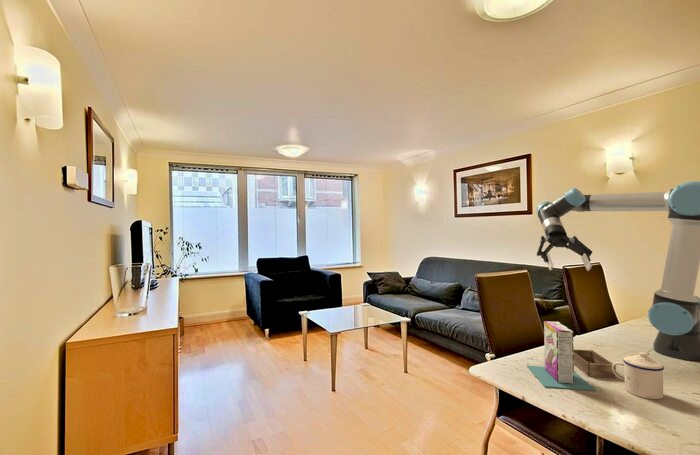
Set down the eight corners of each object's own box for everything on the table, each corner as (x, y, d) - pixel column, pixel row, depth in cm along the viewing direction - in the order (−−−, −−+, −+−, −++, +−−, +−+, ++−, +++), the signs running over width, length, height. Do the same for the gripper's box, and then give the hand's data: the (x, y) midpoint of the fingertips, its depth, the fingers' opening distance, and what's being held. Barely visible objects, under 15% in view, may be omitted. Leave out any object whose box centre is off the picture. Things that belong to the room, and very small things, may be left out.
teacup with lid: (667, 393, 100) (666, 353, 100) (661, 403, 94) (660, 361, 94) (616, 379, 109) (616, 343, 109) (607, 388, 103) (607, 349, 103)
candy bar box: (543, 368, 117) (543, 320, 117) (559, 370, 116) (559, 321, 116) (556, 383, 106) (556, 330, 106) (574, 384, 105) (574, 331, 105)
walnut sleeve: (592, 361, 125) (592, 350, 125) (615, 377, 111) (615, 365, 111) (567, 359, 126) (567, 349, 126) (587, 376, 112) (587, 363, 112)
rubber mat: (570, 369, 117) (570, 368, 117) (595, 390, 102) (595, 389, 102) (527, 366, 120) (527, 365, 120) (544, 387, 104) (544, 386, 104)
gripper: (582, 236, 150) (601, 274, 135) (521, 236, 154) (533, 273, 139) (588, 223, 145) (609, 262, 130) (525, 224, 149) (538, 261, 134)
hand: (570, 268), depth 135 cm, fingers open, 13 cm apart
